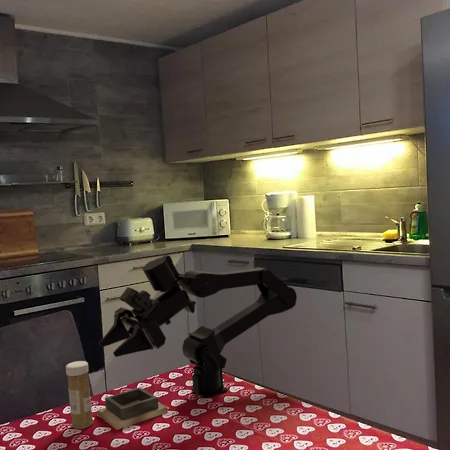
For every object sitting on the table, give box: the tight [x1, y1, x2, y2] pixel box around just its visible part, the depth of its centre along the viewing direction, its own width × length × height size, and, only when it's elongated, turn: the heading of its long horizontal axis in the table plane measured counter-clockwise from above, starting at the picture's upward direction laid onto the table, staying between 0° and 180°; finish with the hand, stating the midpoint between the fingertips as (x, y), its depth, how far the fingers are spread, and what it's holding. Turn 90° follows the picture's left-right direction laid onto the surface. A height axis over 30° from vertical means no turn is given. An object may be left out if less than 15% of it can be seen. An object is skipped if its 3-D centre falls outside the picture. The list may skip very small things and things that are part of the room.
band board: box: [97, 386, 168, 431], centre depth 121 cm, size 12×10×4 cm
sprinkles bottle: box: [65, 360, 94, 430], centre depth 116 cm, size 5×5×14 cm
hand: (106, 350), depth 117 cm, fingers open, 9 cm apart
